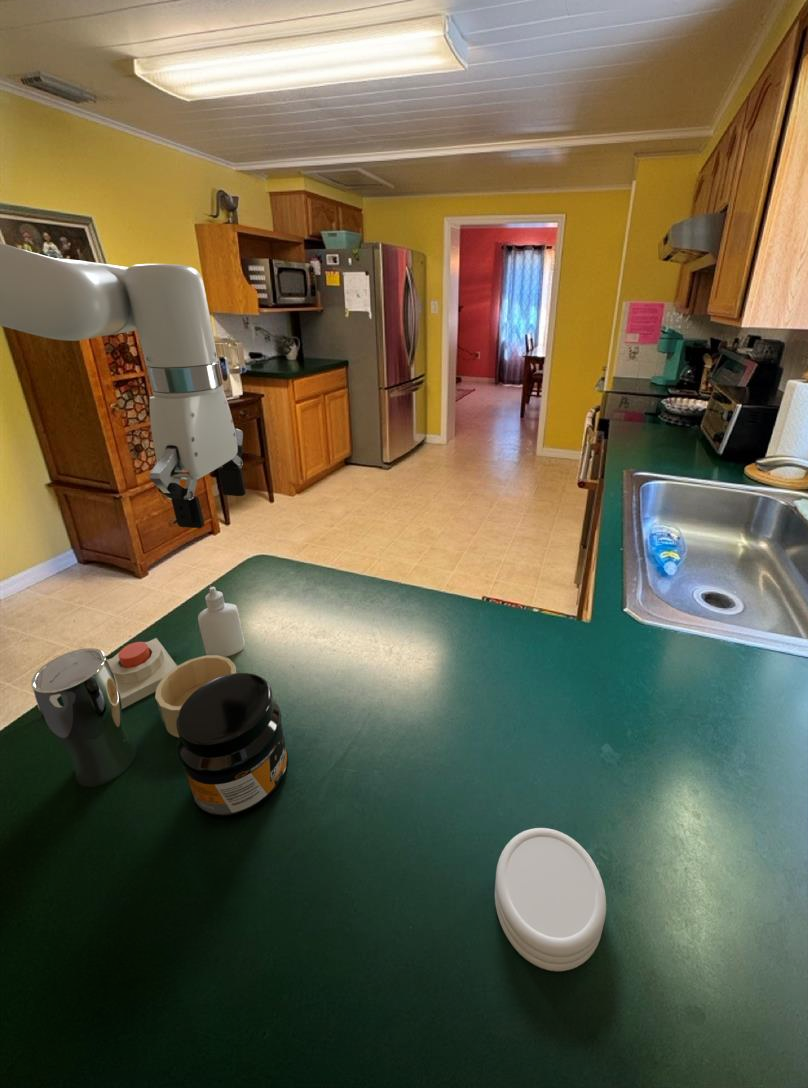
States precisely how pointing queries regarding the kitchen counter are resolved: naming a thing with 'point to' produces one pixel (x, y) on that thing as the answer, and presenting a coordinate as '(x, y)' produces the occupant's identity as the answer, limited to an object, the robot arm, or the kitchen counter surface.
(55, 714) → the silver rounded piece
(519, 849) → the coaster
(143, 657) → the button
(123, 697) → the button base
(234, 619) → the eye dropper bottle
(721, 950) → the kitchen counter surface
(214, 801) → the supplement container
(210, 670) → the holder
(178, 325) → the robot arm
